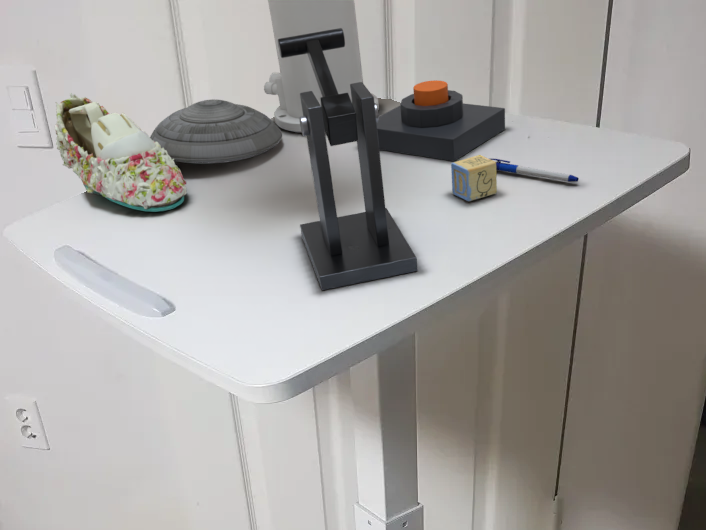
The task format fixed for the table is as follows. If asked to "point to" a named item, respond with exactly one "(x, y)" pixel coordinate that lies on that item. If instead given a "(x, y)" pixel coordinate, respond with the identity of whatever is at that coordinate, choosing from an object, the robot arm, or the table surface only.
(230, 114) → the flying saucer
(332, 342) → the table surface
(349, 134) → the lever
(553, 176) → the ballpoint pen
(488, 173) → the alphabet block
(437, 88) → the button
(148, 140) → the ballet flat
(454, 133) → the control block
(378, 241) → the bracket
